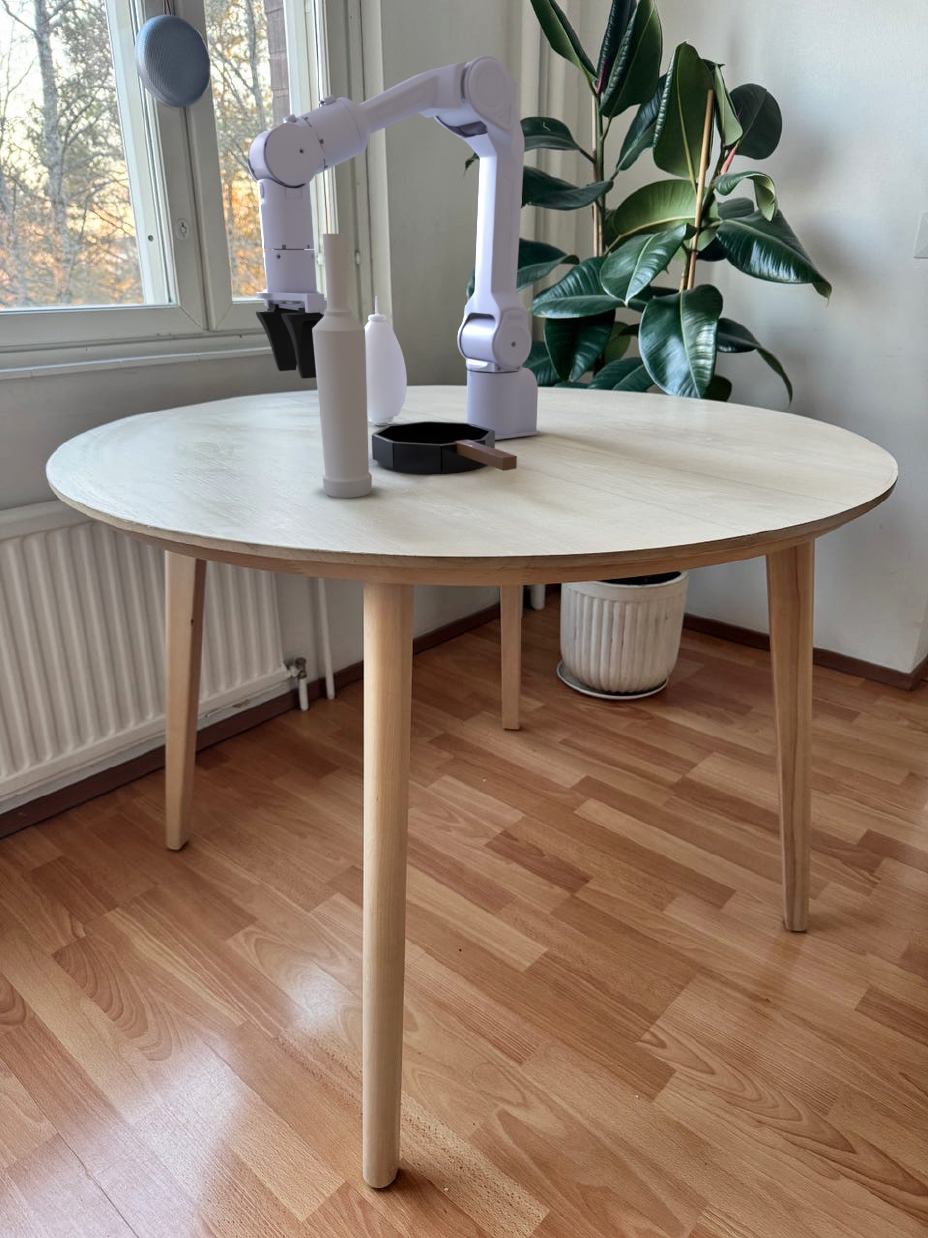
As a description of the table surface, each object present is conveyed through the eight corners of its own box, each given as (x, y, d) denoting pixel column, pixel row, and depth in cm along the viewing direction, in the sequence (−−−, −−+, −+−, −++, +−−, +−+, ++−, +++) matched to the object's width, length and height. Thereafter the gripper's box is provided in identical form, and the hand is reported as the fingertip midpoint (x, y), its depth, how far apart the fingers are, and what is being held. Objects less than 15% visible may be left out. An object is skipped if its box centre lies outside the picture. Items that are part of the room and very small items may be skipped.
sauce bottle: (352, 420, 127) (345, 293, 119) (402, 418, 128) (399, 293, 121) (358, 430, 120) (351, 296, 112) (412, 427, 121) (408, 295, 114)
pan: (454, 444, 111) (454, 416, 109) (561, 482, 92) (563, 449, 91) (358, 456, 104) (356, 426, 103) (453, 500, 86) (452, 464, 84)
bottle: (325, 486, 91) (308, 234, 81) (372, 485, 91) (361, 234, 81) (321, 499, 86) (303, 232, 76) (372, 497, 86) (360, 233, 76)
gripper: (234, 249, 98) (246, 369, 103) (276, 249, 86) (287, 383, 92) (291, 250, 101) (300, 365, 107) (339, 249, 90) (346, 379, 95)
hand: (298, 373), depth 100 cm, fingers open, 7 cm apart
